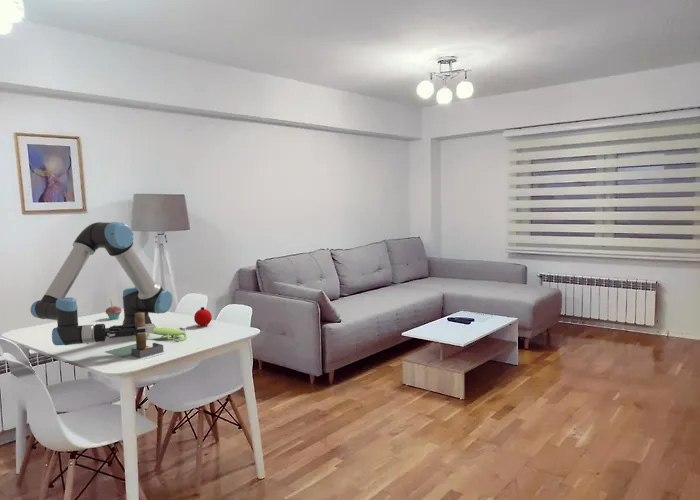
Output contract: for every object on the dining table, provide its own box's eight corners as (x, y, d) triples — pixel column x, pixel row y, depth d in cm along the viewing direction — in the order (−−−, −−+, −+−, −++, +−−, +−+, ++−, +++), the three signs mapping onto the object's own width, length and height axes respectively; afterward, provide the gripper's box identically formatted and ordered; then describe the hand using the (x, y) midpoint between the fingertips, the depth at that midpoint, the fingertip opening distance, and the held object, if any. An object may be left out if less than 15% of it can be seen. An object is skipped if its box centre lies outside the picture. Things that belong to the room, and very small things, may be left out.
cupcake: (117, 320, 287) (116, 299, 286) (102, 320, 288) (101, 299, 286) (124, 316, 296) (123, 296, 295) (110, 317, 296) (109, 296, 295)
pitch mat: (104, 354, 222) (103, 351, 222) (137, 345, 235) (137, 343, 235) (124, 360, 213) (123, 357, 213) (158, 350, 226) (157, 348, 225)
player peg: (134, 349, 220) (132, 313, 218) (143, 347, 223) (141, 311, 222) (139, 351, 217) (137, 314, 216) (148, 349, 221) (146, 313, 219)
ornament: (209, 327, 266) (208, 308, 265) (192, 327, 266) (191, 309, 266) (214, 323, 275) (213, 305, 274) (197, 323, 275) (196, 305, 275)
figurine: (141, 334, 257) (140, 323, 256) (194, 332, 258) (193, 321, 257) (126, 344, 239) (126, 332, 238) (184, 342, 240) (183, 331, 239)
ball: (148, 352, 215) (145, 359, 217) (156, 349, 218) (153, 355, 220) (143, 346, 216) (140, 352, 218) (151, 343, 220) (148, 349, 221)
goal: (131, 357, 216) (131, 348, 215) (154, 351, 224) (154, 342, 224) (140, 360, 212) (139, 351, 211) (163, 353, 221) (163, 344, 220)
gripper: (98, 337, 222) (155, 331, 230) (92, 347, 206) (153, 341, 213) (97, 320, 221) (154, 315, 229) (90, 329, 205) (152, 323, 213)
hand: (153, 327), depth 221 cm, fingers closed on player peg, 4 cm apart
